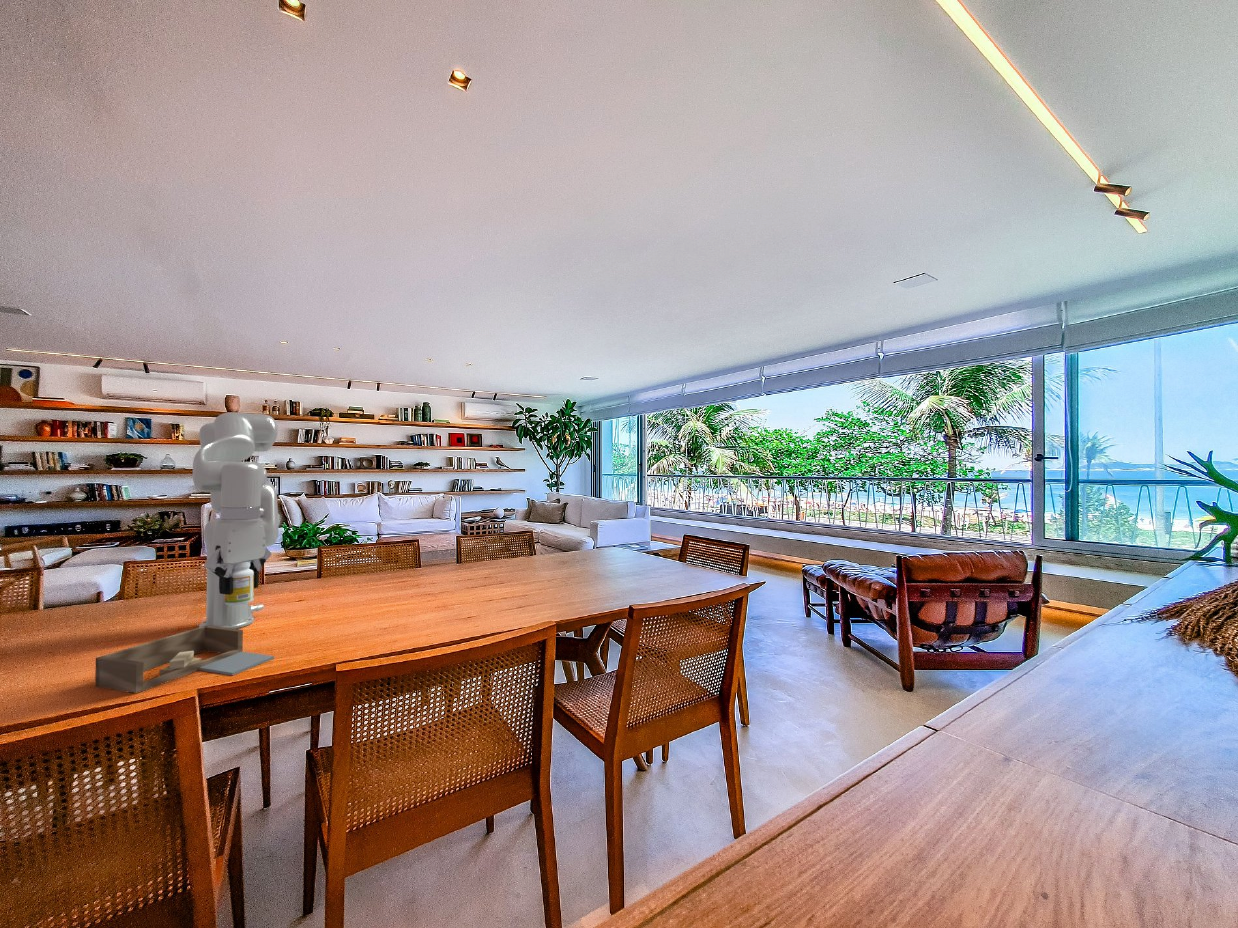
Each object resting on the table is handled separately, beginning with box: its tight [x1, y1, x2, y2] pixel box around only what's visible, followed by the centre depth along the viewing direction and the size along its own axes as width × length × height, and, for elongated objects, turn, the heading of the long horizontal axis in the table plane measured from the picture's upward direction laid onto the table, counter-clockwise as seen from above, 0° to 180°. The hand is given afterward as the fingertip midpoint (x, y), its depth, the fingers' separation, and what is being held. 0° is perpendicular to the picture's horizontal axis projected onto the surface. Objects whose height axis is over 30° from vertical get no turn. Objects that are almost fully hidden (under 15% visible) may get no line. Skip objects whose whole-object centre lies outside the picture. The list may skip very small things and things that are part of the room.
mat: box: [198, 651, 275, 676], centre depth 115 cm, size 10×10×1 cm
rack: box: [94, 625, 244, 694], centre depth 112 cm, size 22×12×6 cm, turn 166°
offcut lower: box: [159, 657, 202, 676], centre depth 111 cm, size 7×3×2 cm, turn 173°
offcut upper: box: [168, 651, 195, 670], centre depth 111 cm, size 6×3×2 cm, turn 26°
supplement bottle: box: [225, 561, 255, 605], centre depth 115 cm, size 5×5×10 cm
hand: (239, 589), depth 115 cm, fingers closed on supplement bottle, 5 cm apart
